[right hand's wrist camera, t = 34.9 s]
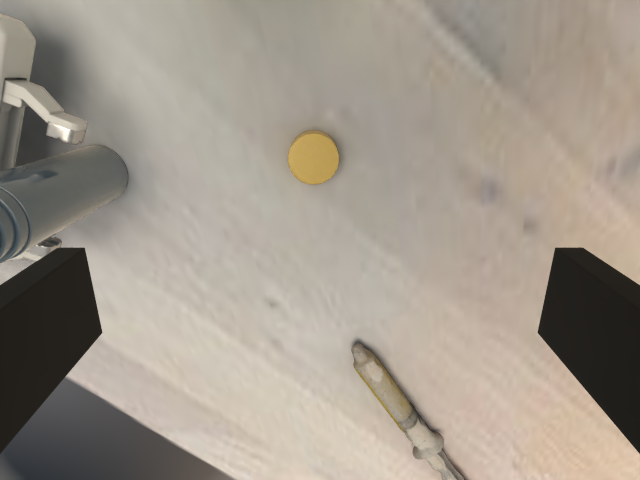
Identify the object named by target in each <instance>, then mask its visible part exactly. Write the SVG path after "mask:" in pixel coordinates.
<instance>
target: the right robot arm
mask: <svg viewBox="0 0 640 480" xmlns="http://www.w3.org/2000/svg"><path fill="white" fill-rule="evenodd" d="M101 334H102V329H101V324H100V319H99V314H98V310H97V305H96V300H95V295H94V290H93V286H92V281H91V276H90V271H89V266H88V261H87V257H86V252H85V248H56V249H55V250H53V251H52V252H50V253H49V254H47V255H45V256H44V257H42V258H41V259H39V260H38V261H36V262H35V263H33V264H32V265H30V266H29V267H27V268H26V269H24V270H23V271H21V272H20V273H18V274H17V275H15V276H14V277H12V278H11V279H9V280H8V281H6V282H4V283H3V284H1V285H0V453H1V452H2V451H3V450H4V449H5V447H6V446H7V445H8V444H9V443H10V441H11V440H12V439H13V438H14V437H15V436H16V434H17V433H18V432H19V431H20V430H21V428H22V427H23V426H24V425H25V424H26V423H27V421H28V420H29V419H30V418H31V416H32V415H33V414H34V413H35V412H36V411H37V409H38V408H39V407H40V406H41V405H42V404H43V402H44V401H45V400H46V399H47V398H48V396H49V395H50V394H51V393H52V392H53V391H54V389H55V388H56V387H57V386H58V385H59V383H60V382H61V381H62V380H63V379H64V377H65V376H66V375H67V374H68V373H69V372H70V370H71V369H72V368H73V367H74V366H75V364H76V363H77V362H78V361H79V360H80V358H81V357H82V356H83V355H84V354H85V353H86V351H87V350H88V349H89V348H90V347H91V345H92V344H93V343H94V342H95V341H96V340H97V338H98V337H99V336H100V335H101ZM538 334H539V335H540V336H541V337H542V338H543V340H544V341H545V342H546V343H547V344H548V345H549V347H550V348H551V349H552V350H553V351H554V353H555V354H556V355H557V356H558V357H559V358H560V360H561V361H562V362H563V363H564V364H565V366H566V367H567V368H568V369H569V370H570V372H571V373H572V374H573V375H574V376H575V377H576V379H577V380H578V381H579V382H580V383H581V385H582V386H583V387H584V388H585V389H586V391H587V392H588V393H589V394H590V395H591V396H592V398H593V399H594V400H595V401H596V402H597V404H598V405H599V406H600V407H601V408H602V409H603V411H604V412H605V413H606V414H607V415H608V417H609V418H610V419H611V420H612V421H613V423H614V424H615V425H616V426H617V427H618V428H619V430H620V431H621V432H622V433H623V434H624V436H625V437H626V438H627V439H628V440H629V441H630V443H631V444H632V445H633V446H634V447H635V449H636V450H637V451H638V452H639V453H640V285H639V284H637V283H636V282H634V281H632V280H631V279H629V278H628V277H626V276H625V275H623V274H622V273H620V272H619V271H617V270H616V269H614V268H613V267H611V266H610V265H608V264H607V263H605V262H604V261H602V260H601V259H599V258H598V257H596V256H595V255H593V254H591V253H590V252H588V251H587V250H585V249H584V248H555V252H554V257H553V261H552V266H551V271H550V276H549V281H548V286H547V290H546V295H545V300H544V305H543V310H542V314H541V319H540V324H539V329H538Z"/></svg>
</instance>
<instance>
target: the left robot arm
mask: <svg viewBox="0 0 640 480" xmlns="http://www.w3.org/2000/svg"><path fill="white" fill-rule="evenodd" d="M35 46H36V40H35V38H34V36H33V35H32V33H31V32H30V30H29V29H28V28H27V27H26V25H25V24H24V23H23V22H22V21H20V20H18V19H15V18H13V17H10V16H7V15H4V14H1V13H0V171H3V170H7V169H10V168H14V167H15V165H16V159H17V153H18V147H19V141H20V135H21V129H22V123H23V117H24V111H25V107H31V108H32V109H33V110H34V111H35V112H36V113H37V114H38V115H39V116H40V117H41V118H42V119H43V120H44V121H45V122H46V123H48V127H47V133H46V135H47V136H50V137H52V138H55V139H58V138H60V139H61V140H62V141H63V142H65V143H69V144H78V143H79V142H80V143H83V140H84V135H85V131H86V128H87V122H86V121H85V120H83V119H80V118H77V117H75V116H72V115H70V114H67V113H65V112H64V110H63V108H62V107H61V106H60V105H59V104H58V103H57V102H56V101H55V100H54V98H53V97H52V96H51V95H50V94H49V93H48V92H47V91H46V89H45V88H44V87H42V86H39V85H37V84H34V83H32V82H29V81H30V75H31V69H32V63H33V57H34V52H35ZM61 243H62V241H61V239H59V238H56V237H54V238H52V237H49V238H47V239H46V240H44V241H42V242H41V243H39V244H37V245H35V246H34V247H32V248H30V249H29V250H27V251H25V252H24V253H22V254H20V255H19V256H17V257H15V258H12V259H8V260H6V261H10V260H17V259H23V258H27V259H30V260H33V261H38V260H39V259H41V258H42V257H44V256H45V255H47V254H49V253H50V252H52V251H53V250H55V249H56V248H61Z"/></svg>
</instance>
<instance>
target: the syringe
mask: <svg viewBox="0 0 640 480" xmlns="http://www.w3.org/2000/svg"><path fill="white" fill-rule="evenodd" d="M352 353H353V356H354V359H355V361H354V368H355V369H356V371H357V372H358V373H359V375H360V376H361V378H362V379H363V380H364V381H365V383H366V384H367V385H368V387H369V388H370V389H371V391H372V392H373V393H374V395H375V396H376V397H377V399H378V400H379V401H380V402H381V404H382V405H383V406H384V408H385V409H386V410H387V412H388V413H389V414H390V416H391V417H392V418H393V420H394V421H395V422H396V424H397V425H398V427H399V428H400V429H401V430H402V431H403V432H404V433H405V435H406V437H407V438H408V439H409V440H410V441H411V442H412V443H413V445H414V448H413V455H414V457H415V458H416V459H426V460H427V461H428V462H429V464H430V465H431V467H432V468H433V469H434V470H436V471H439V472H441V474H442V479H443V480H464V477H463V475H462V474H461V473H460V472H458V471H457V470H456V469H455V468H454V467H453V465H452V464H451V463H450V461H449V460H448V458H447V456H446V454H445V452H444V451H443V450H442V448H443V445H444V439H443V437H442V436H441V435H440V434H439V433H438V432H432V431H431V430H430V429H429V428H428V426H427V425H426V423H425V422H424V421H423V420H422V418H421V417H420V416H419V414H418V413H417V412H416V410H415V408H414V406H413V405H412V404H411V403H410V402H409V401H408V399H407V398H406V397H405V396H404V394H403V393H402V392H401V390H400V389H399V388H398V386H397V385H396V383H395V382H394V381H393V379H392V378H391V377H390V375H389V374H388V372H387V371H386V369H385V368H384V367H383V365H382V364H381V363H380V362H379V360H378V359H377V358H376V357H375V356H374V354H373V353H372V351H371V350H370V351H369V350H367V349H366V348H364V346H363V345H362V344H361V343H356V344H355V345H354V346H353V347H352Z"/></svg>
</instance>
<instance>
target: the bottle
mask: <svg viewBox="0 0 640 480" xmlns="http://www.w3.org/2000/svg"><path fill="white" fill-rule="evenodd" d="M127 182H128V173H127V169H126V166H125V164H124V162H123V161H122V159H121V158H120V157H119V156H118V155H117V154H116V153H115V152H114V151H112V150H110V149H109V148H106V147H103V146H99V145H90V146H86V147H82V148H79V149H76V150H72V151H69V152H65V153H62V154H58V155H55V156H51V157H48V158H45V159H41V160H38V161H34V162H31V163H27V164H24V165H20V166H17V167H14V168H10V169H7V170H3V171H0V263H2V262H4V261H6V260H8V259H12V258H15V257H17V256H19V255H20V254H22V253H24V252H25V251H27V250H29V249H30V248H32V247H34V246H35V245H37V244H39V243H41V242H42V241H44V240H46V239H47V238H49V237H51V236H52V235H54V234H56V233H57V232H59V231H61V230H62V229H64V228H66V227H68V226H69V225H71V224H73V223H74V222H76V221H78V220H79V219H81V218H83V217H84V216H86V215H88V214H89V213H91V212H93V211H95V210H96V209H98V208H100V207H101V206H103V205H105V204H106V203H108V202H110V201H111V200H113V199H115V198H117V197H118V196H119V195H121V194H122V193H123V191H124V190H125V188H126V186H127Z"/></svg>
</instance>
